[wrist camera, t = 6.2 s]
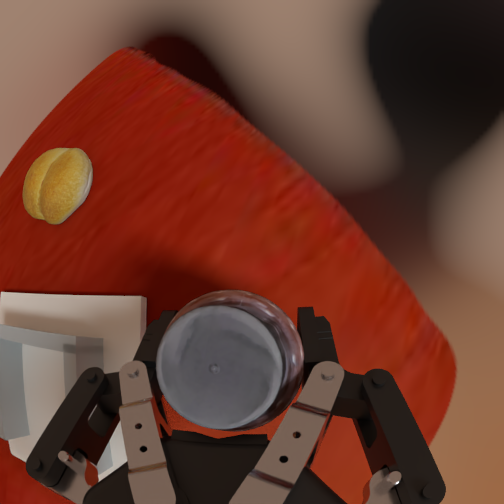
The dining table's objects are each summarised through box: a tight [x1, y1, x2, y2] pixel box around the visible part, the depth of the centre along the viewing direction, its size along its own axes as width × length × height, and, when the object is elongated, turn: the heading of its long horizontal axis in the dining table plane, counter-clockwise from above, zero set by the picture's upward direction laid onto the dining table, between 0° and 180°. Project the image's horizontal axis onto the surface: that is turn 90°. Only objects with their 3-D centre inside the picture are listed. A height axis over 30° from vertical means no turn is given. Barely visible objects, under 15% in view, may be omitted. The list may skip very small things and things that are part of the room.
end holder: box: [0, 292, 147, 482], centre depth 17 cm, size 18×18×4 cm
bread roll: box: [23, 148, 93, 224], centre depth 24 cm, size 8×9×4 cm
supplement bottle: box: [156, 290, 304, 431], centre depth 14 cm, size 6×6×11 cm
